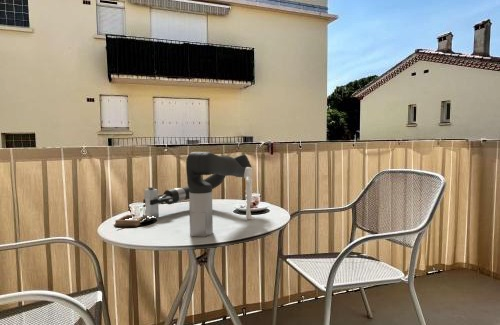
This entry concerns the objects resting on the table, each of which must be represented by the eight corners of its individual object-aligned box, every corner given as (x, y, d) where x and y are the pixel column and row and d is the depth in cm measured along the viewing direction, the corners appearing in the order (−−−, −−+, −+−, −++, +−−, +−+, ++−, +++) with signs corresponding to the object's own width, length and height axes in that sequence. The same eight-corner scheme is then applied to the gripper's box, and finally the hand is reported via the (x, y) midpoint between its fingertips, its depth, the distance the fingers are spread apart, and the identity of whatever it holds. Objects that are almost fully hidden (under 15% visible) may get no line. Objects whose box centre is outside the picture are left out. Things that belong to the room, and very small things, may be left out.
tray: (137, 226, 137) (136, 220, 137) (115, 225, 138) (115, 220, 138) (147, 220, 147) (146, 215, 147) (126, 219, 148) (126, 214, 148)
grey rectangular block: (158, 217, 152) (157, 187, 151) (151, 219, 148) (149, 188, 147) (153, 216, 154) (151, 186, 153) (145, 218, 151) (144, 187, 150)
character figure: (255, 226, 137) (255, 169, 134) (244, 226, 137) (243, 169, 134) (254, 212, 161) (253, 164, 158) (244, 212, 161) (244, 164, 158)
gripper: (184, 204, 159) (156, 212, 145) (166, 201, 167) (138, 207, 153) (183, 190, 158) (156, 196, 144) (165, 187, 166) (137, 192, 152)
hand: (147, 202), depth 149 cm, fingers closed on grey rectangular block, 4 cm apart
